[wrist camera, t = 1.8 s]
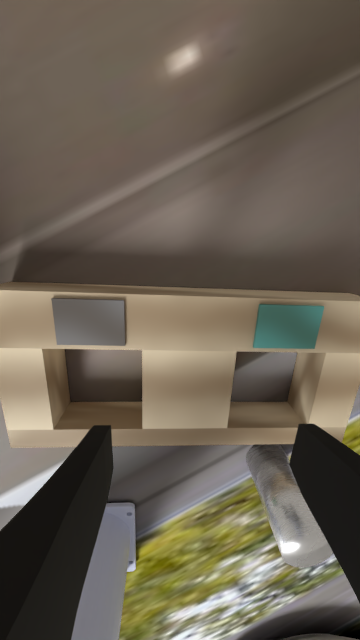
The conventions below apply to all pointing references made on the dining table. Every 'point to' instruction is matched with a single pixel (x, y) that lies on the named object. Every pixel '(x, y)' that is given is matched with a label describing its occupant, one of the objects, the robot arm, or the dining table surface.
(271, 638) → the dining table surface
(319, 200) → the dining table surface
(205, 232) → the dining table surface
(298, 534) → the steel peg
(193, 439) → the socket block
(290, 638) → the dinner plate
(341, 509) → the robot arm
